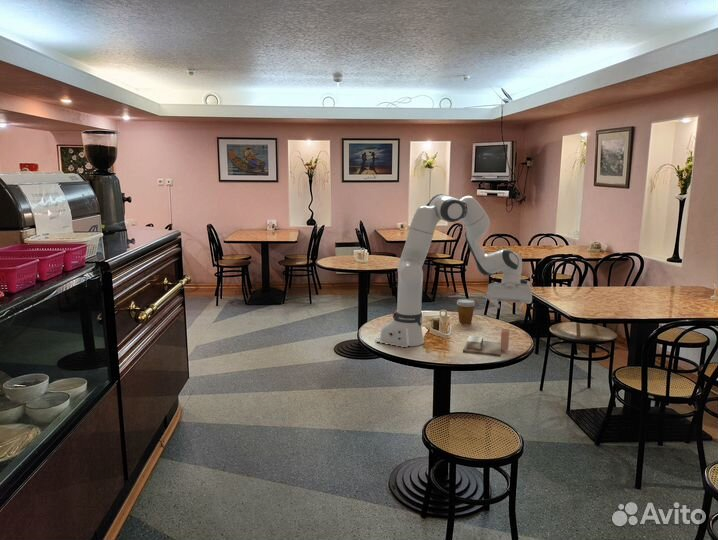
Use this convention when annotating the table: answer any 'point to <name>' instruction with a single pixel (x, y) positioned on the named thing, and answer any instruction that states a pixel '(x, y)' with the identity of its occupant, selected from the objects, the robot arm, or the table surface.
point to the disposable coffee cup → (465, 310)
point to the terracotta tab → (504, 339)
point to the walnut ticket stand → (482, 346)
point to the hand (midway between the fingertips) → (508, 308)
